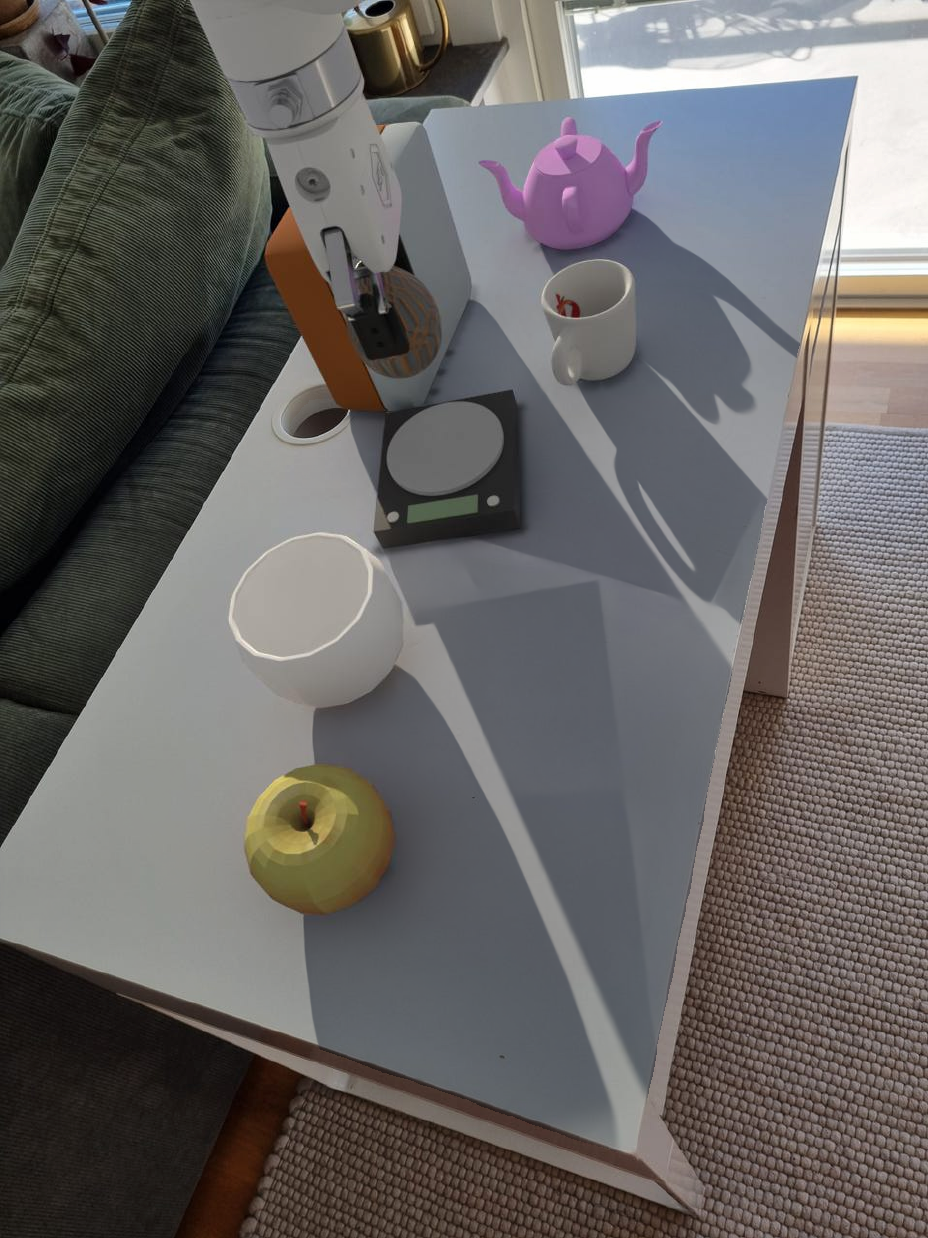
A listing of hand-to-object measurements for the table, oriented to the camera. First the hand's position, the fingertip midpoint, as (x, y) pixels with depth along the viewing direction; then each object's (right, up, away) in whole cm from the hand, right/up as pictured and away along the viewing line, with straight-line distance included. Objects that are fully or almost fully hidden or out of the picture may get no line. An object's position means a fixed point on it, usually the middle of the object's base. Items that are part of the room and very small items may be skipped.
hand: (392, 317), depth 69 cm
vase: (+1, -2, +3) cm, 4 cm away
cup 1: (-4, -26, +5) cm, 27 cm away
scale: (+4, -10, +13) cm, 17 cm away
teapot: (+18, +19, +29) cm, 39 cm away
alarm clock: (0, +5, +25) cm, 25 cm away
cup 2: (+17, 0, +16) cm, 23 cm away
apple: (-3, -39, -4) cm, 39 cm away
